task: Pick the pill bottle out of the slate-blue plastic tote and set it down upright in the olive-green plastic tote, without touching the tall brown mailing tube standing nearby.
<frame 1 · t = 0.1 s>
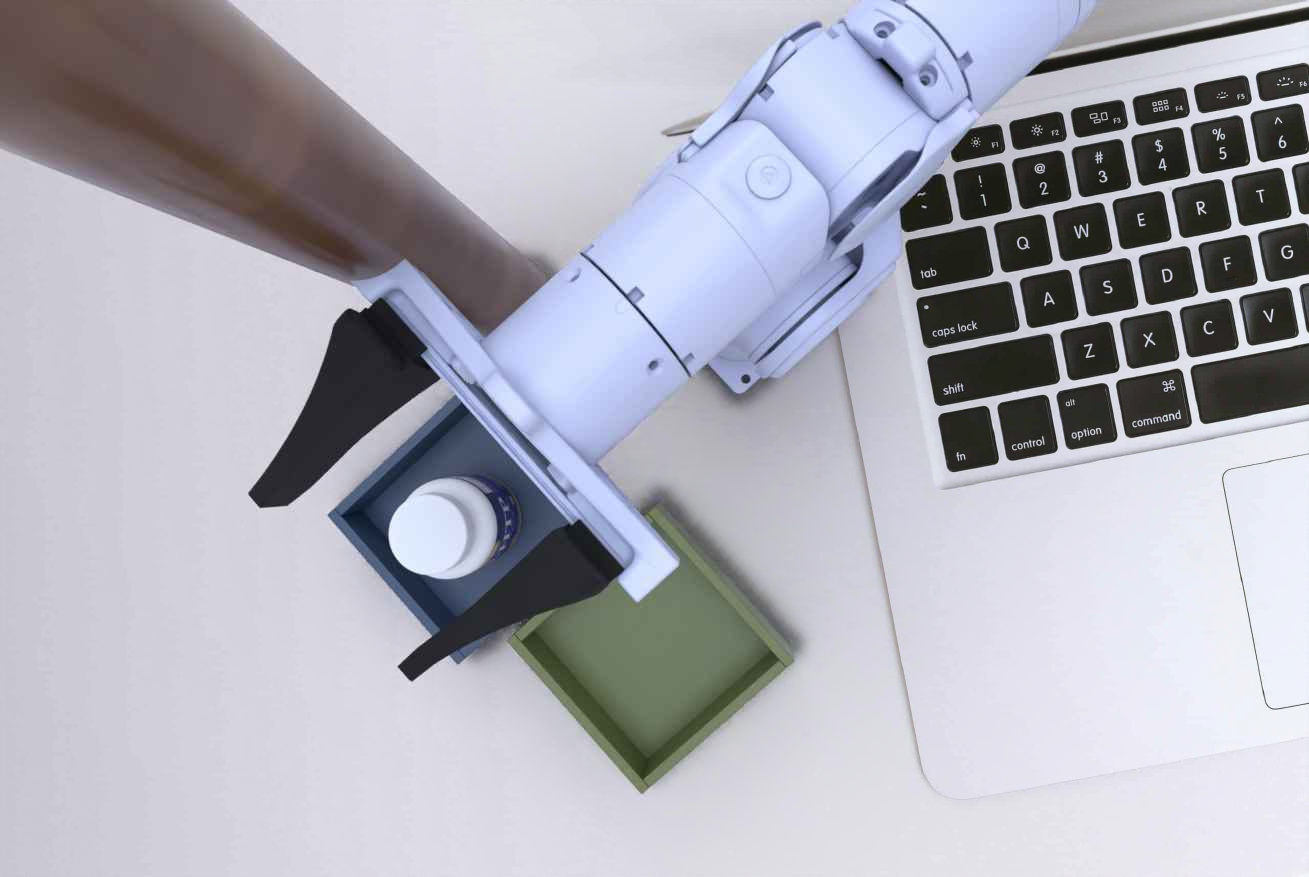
hand: (339, 583, 30), 22 cm above the table, tool horizontal, fingers open, 7 cm apart
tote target: (654, 635, 50), on the table
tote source: (481, 517, 51), on the table
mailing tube: (515, 304, 51), on the table
pill bottle: (480, 517, 51), resting on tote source
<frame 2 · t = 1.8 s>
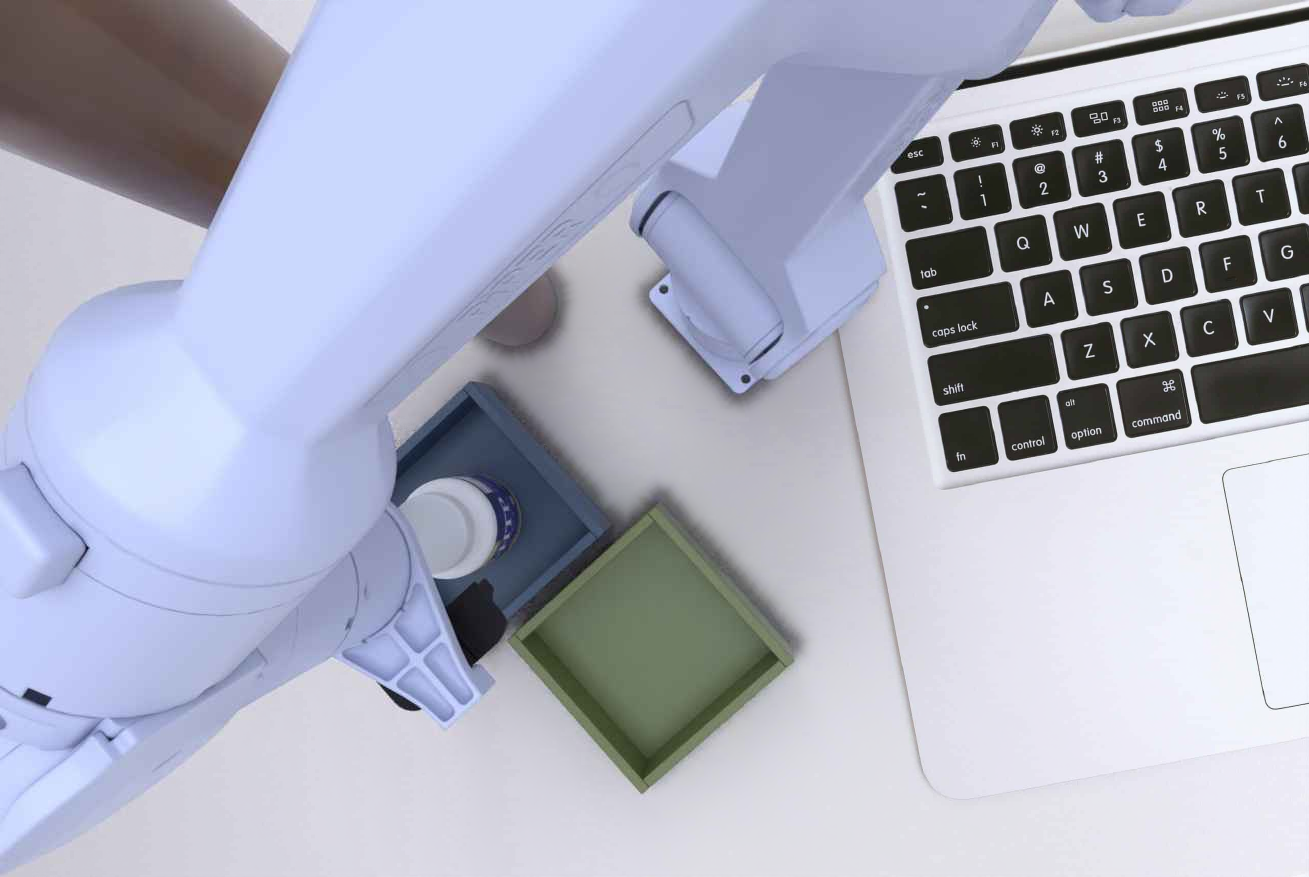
hand: (422, 537, 41), 10 cm above the table, tool pointing down, fingers open, 7 cm apart
nothing on the table moved.
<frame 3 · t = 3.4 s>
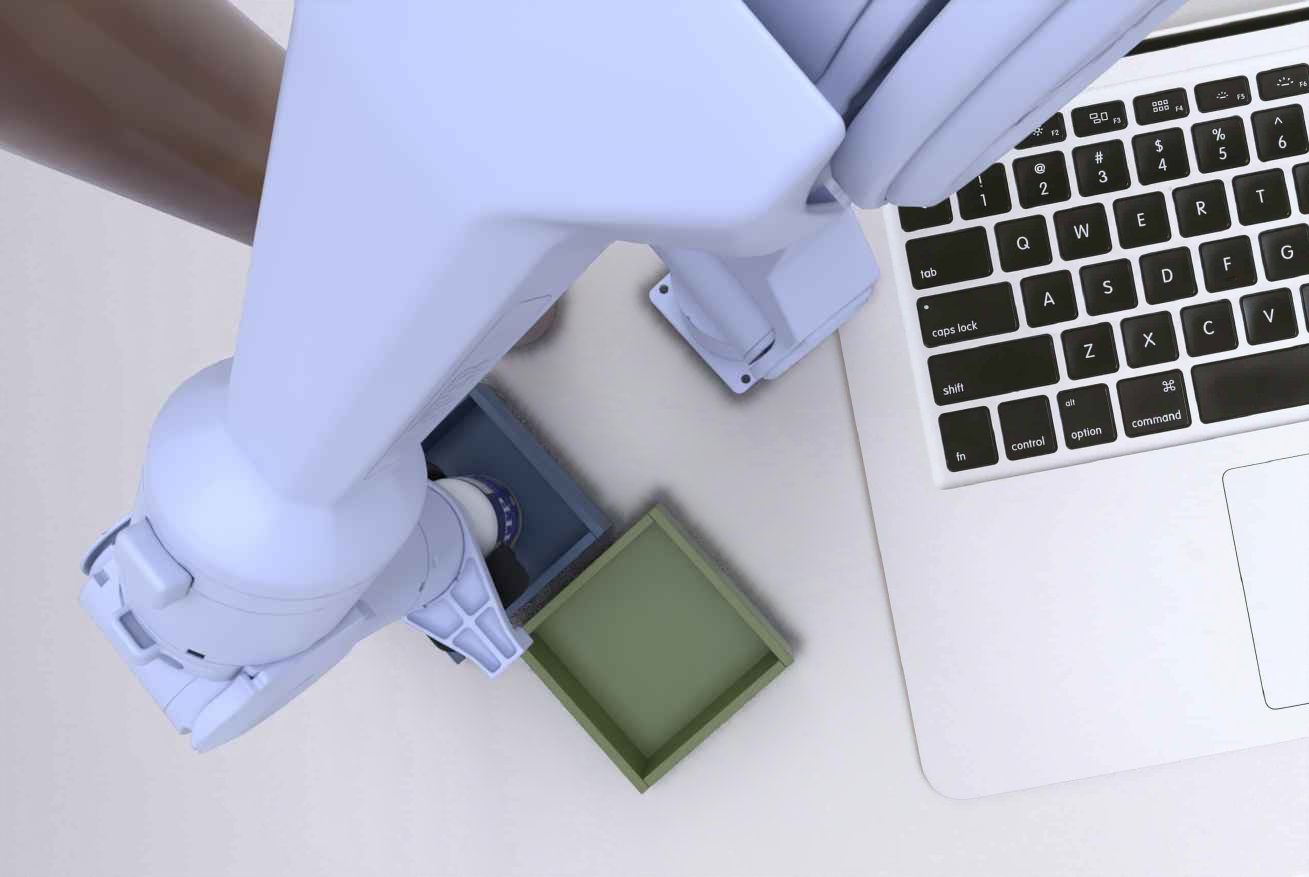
hand: (464, 522, 48), 3 cm above the table, tool pointing down, fingers closed on pill bottle, 5 cm apart
pill bottle: (480, 517, 51), resting on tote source, touching gripper
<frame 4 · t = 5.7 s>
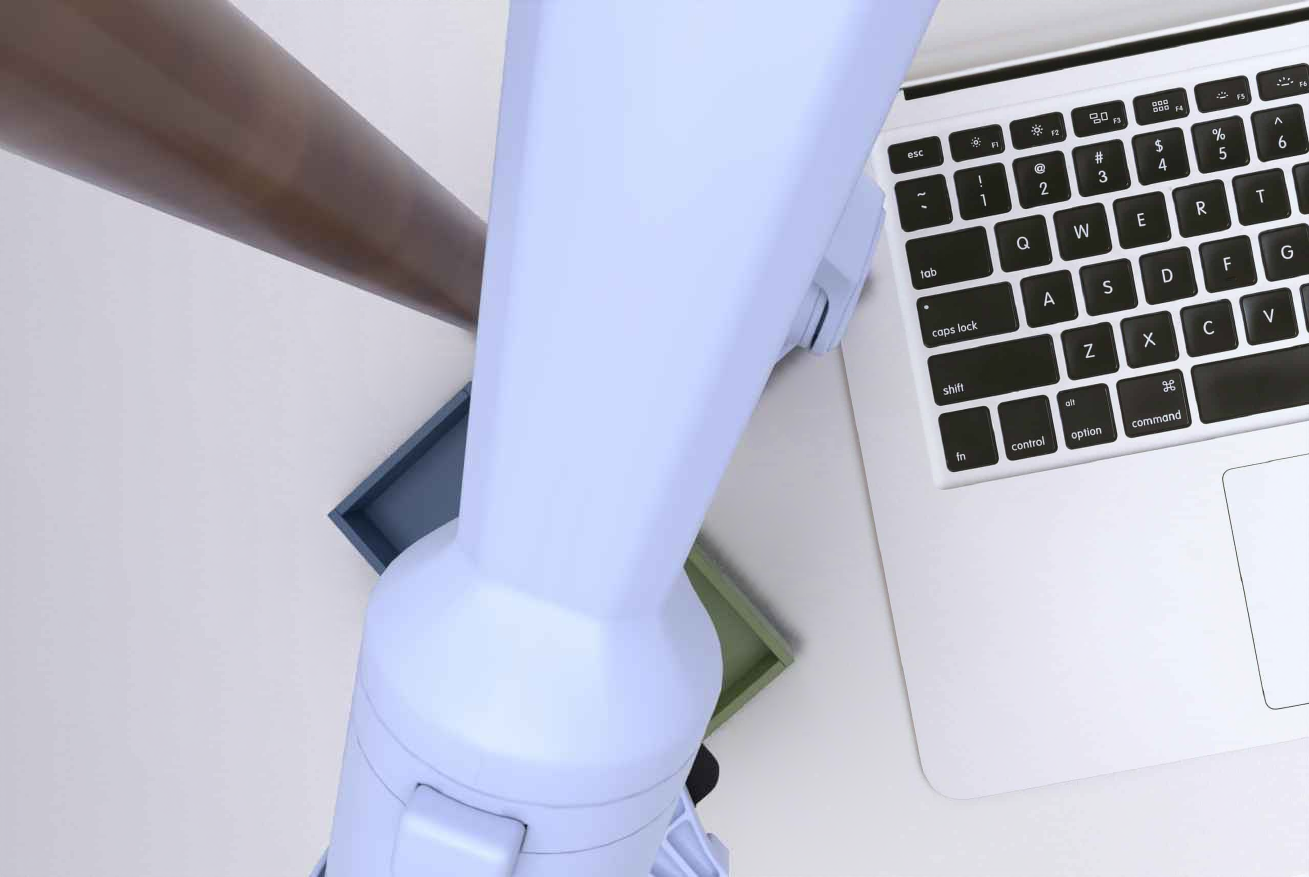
hand: (609, 669, 40), 10 cm above the table, tool pointing down, fingers closed on pill bottle, 5 cm apart
pill bottle: (617, 653, 43), point 7 cm above the table, touching gripper
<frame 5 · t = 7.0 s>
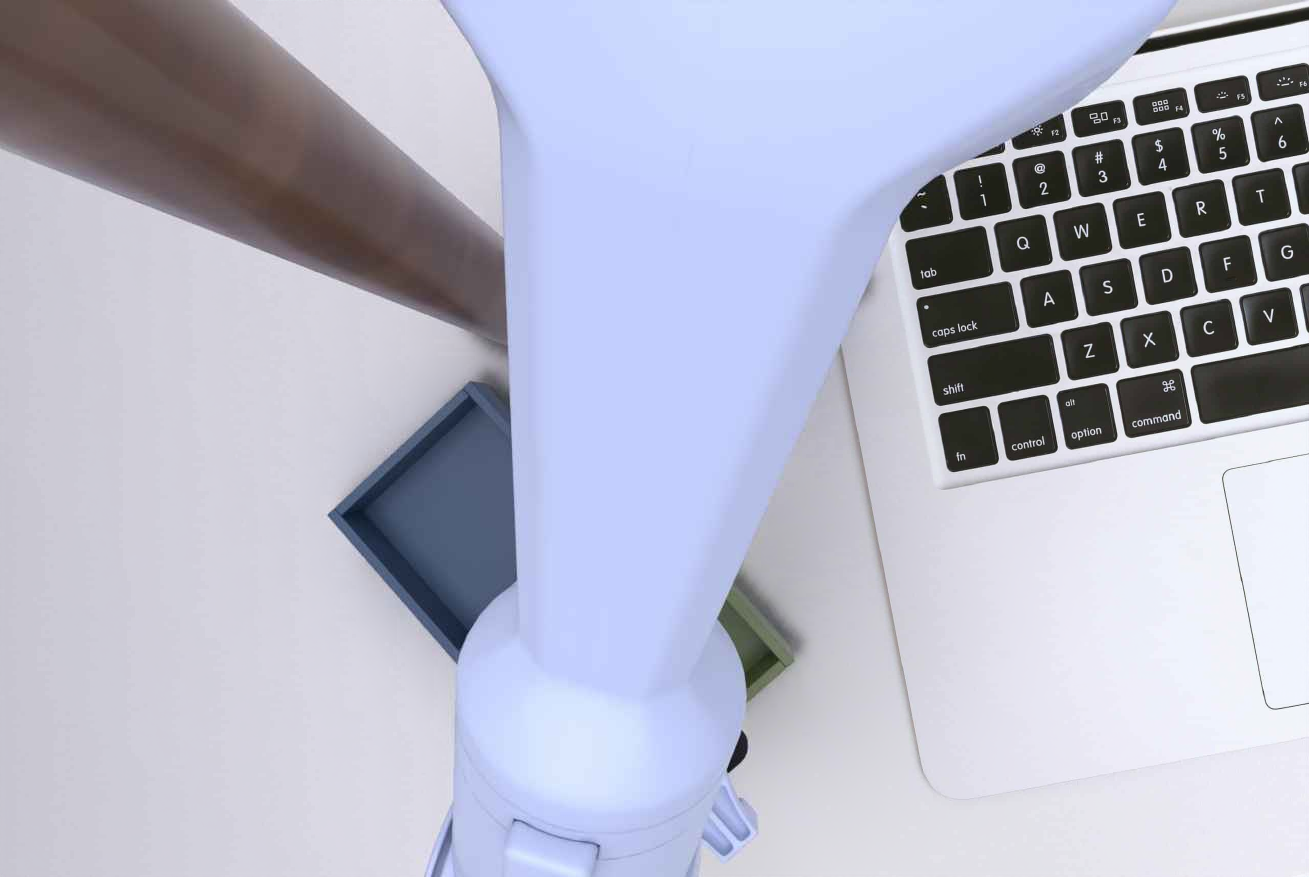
hand: (645, 658, 45), 5 cm above the table, tool pointing down, fingers closed on pill bottle, 5 cm apart
pill bottle: (650, 645, 48), point 2 cm above the table, touching gripper
when the fingers open (3 cm above the table, at t = 8.1 s): pill bottle stays where it is, resting on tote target.
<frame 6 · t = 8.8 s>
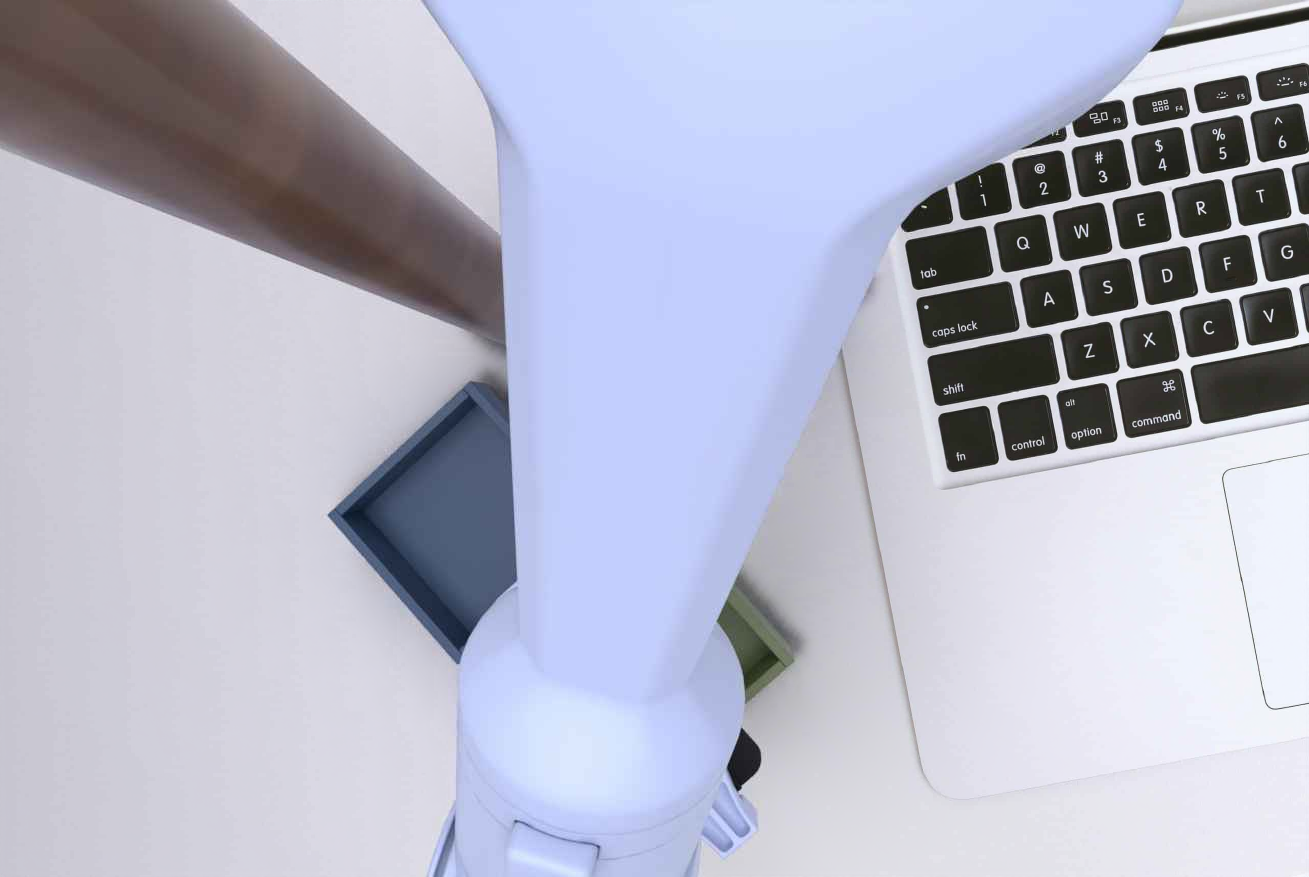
hand: (646, 656, 45), 5 cm above the table, tool pointing down, fingers open, 7 cm apart
pill bottle: (653, 637, 50), resting on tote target
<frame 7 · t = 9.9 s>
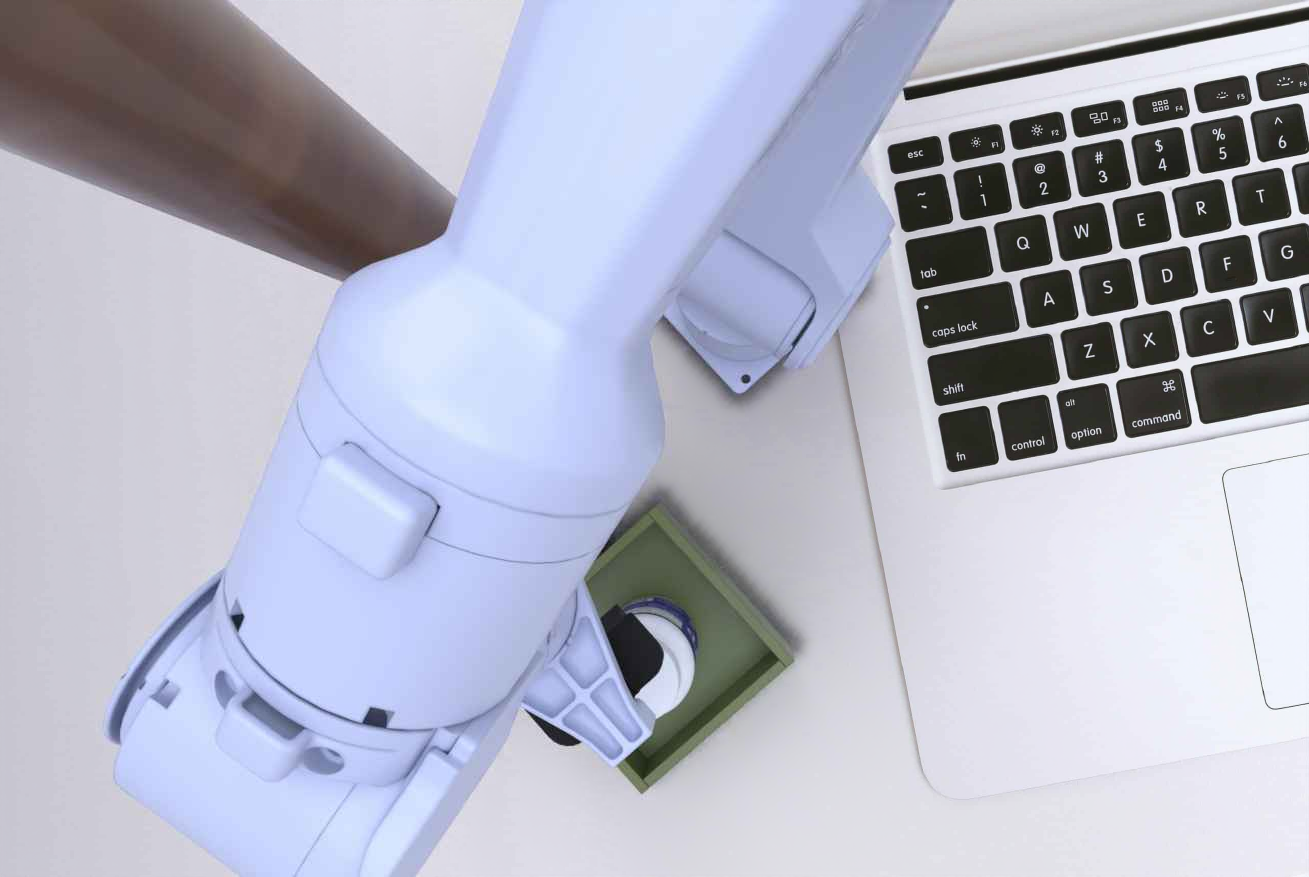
hand: (550, 561, 40), 10 cm above the table, tool pointing down, fingers open, 7 cm apart
nothing on the table moved.
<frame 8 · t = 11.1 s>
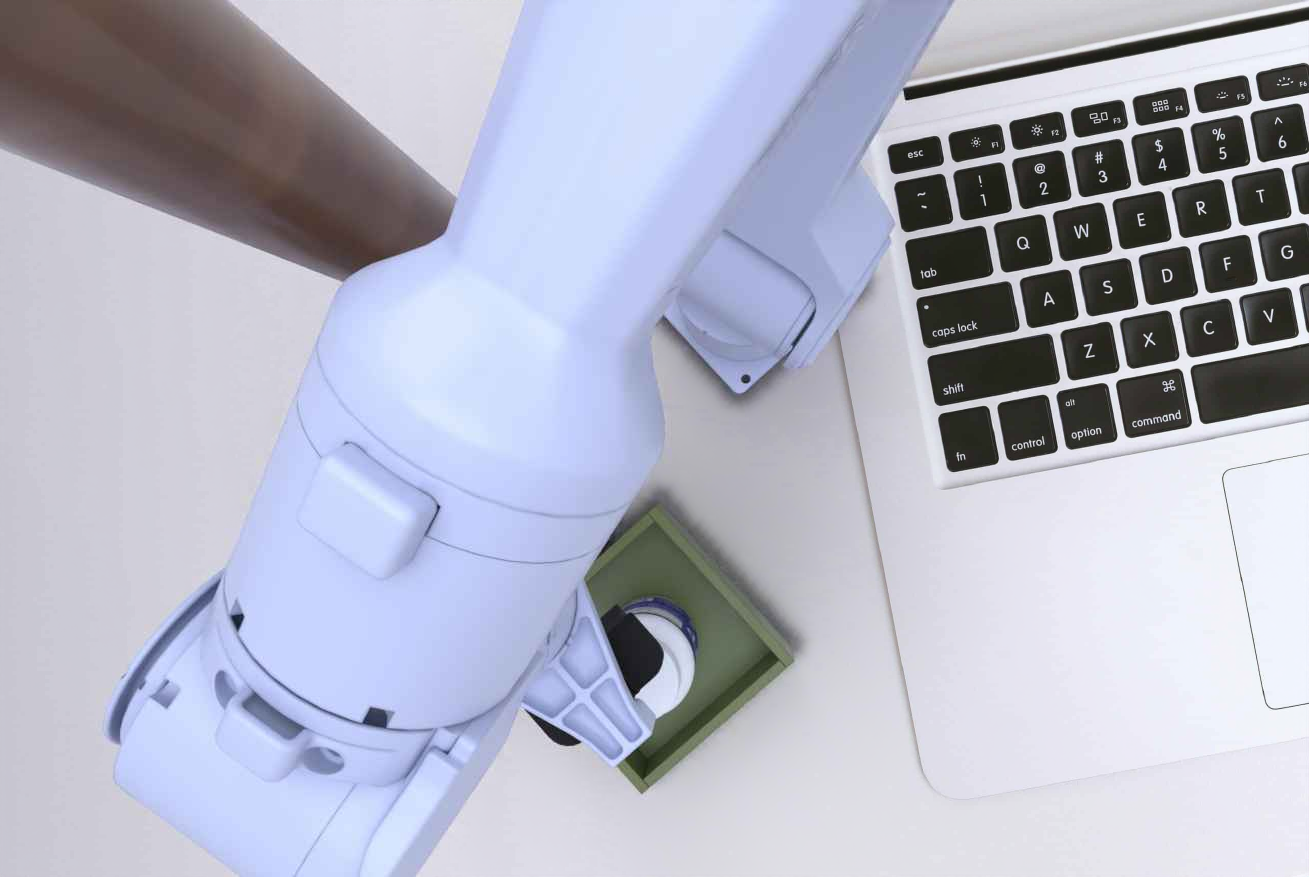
hand: (550, 561, 40), 10 cm above the table, tool pointing down, fingers open, 7 cm apart
nothing on the table moved.
at the end: pill bottle inside the target area in the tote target (0.0 cm from its centre), point 0.3 cm above the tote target's base; pill bottle tilted 0°; pill bottle touching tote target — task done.
